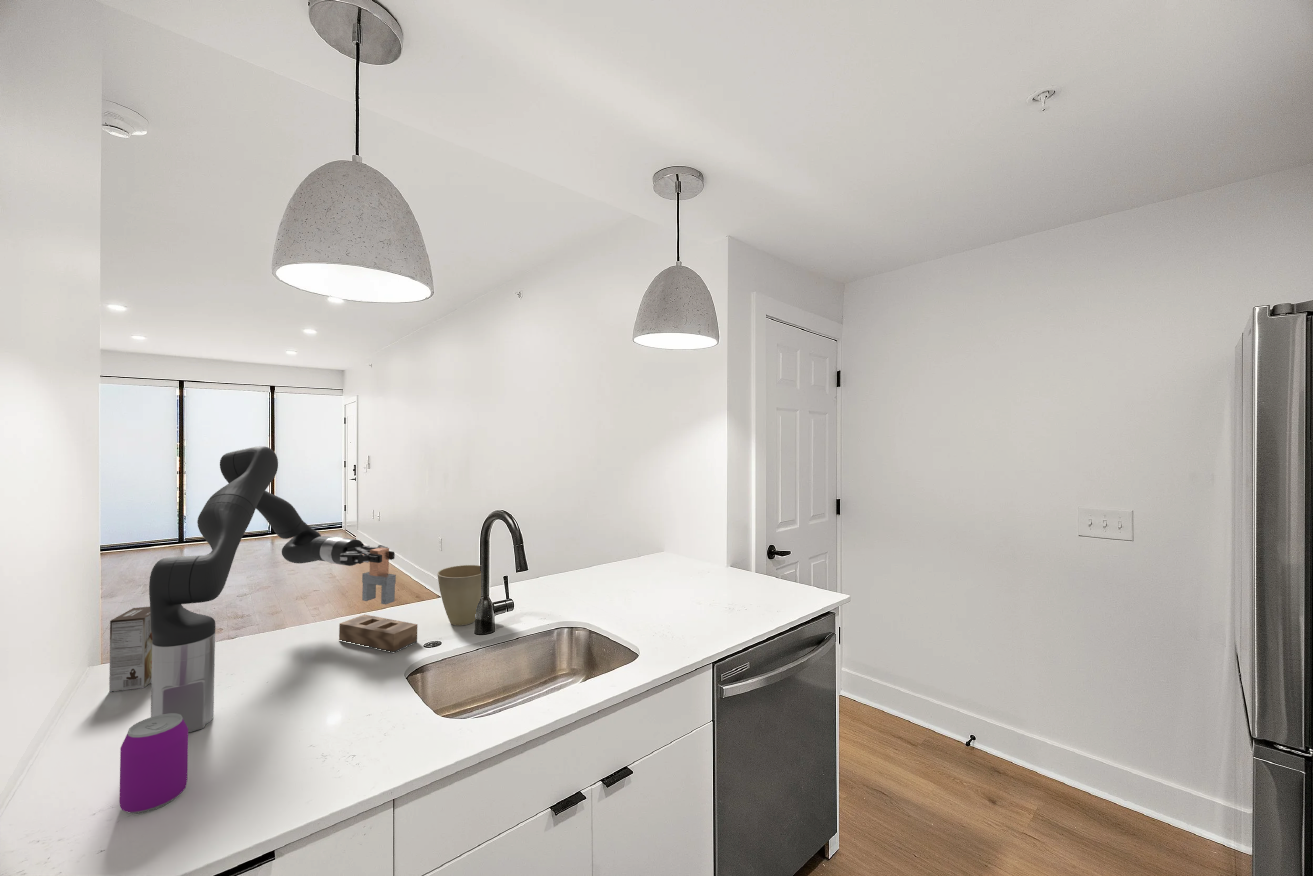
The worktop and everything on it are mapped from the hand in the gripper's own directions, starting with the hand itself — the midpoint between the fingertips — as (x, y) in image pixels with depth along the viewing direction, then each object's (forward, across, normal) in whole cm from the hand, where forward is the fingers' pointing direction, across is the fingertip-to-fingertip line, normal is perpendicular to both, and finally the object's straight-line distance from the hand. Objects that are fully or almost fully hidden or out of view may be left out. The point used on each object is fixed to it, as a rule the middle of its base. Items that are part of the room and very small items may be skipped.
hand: (387, 557), depth 143 cm
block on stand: (-3, 0, +12) cm, 13 cm away
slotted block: (-3, 0, +24) cm, 24 cm away
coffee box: (-33, -38, +24) cm, 56 cm away
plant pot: (+8, +22, +24) cm, 33 cm away
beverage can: (+18, -60, +24) cm, 67 cm away
